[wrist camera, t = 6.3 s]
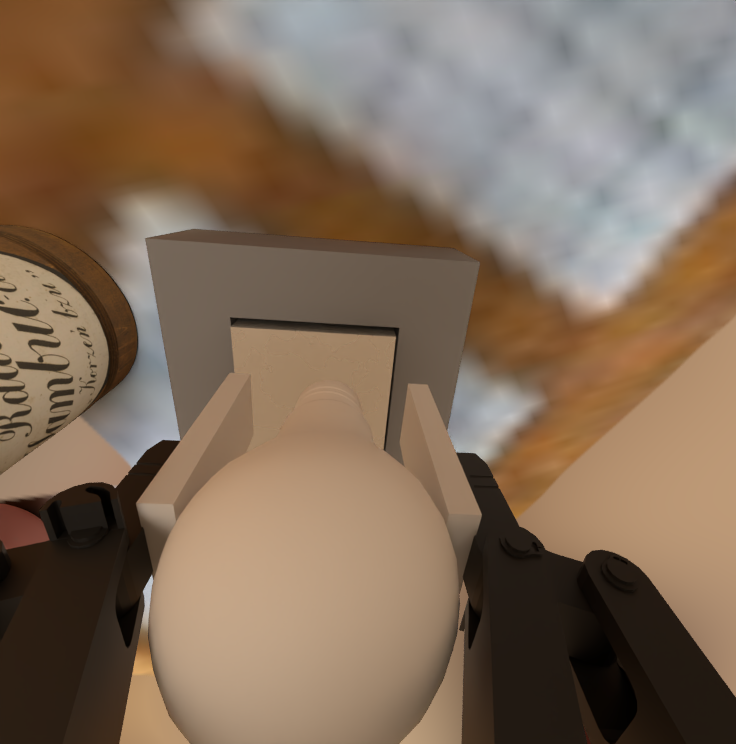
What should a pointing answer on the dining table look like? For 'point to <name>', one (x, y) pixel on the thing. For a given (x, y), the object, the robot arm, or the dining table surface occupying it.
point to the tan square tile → (312, 368)
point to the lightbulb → (306, 590)
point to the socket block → (309, 306)
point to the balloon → (20, 527)
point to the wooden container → (55, 338)
